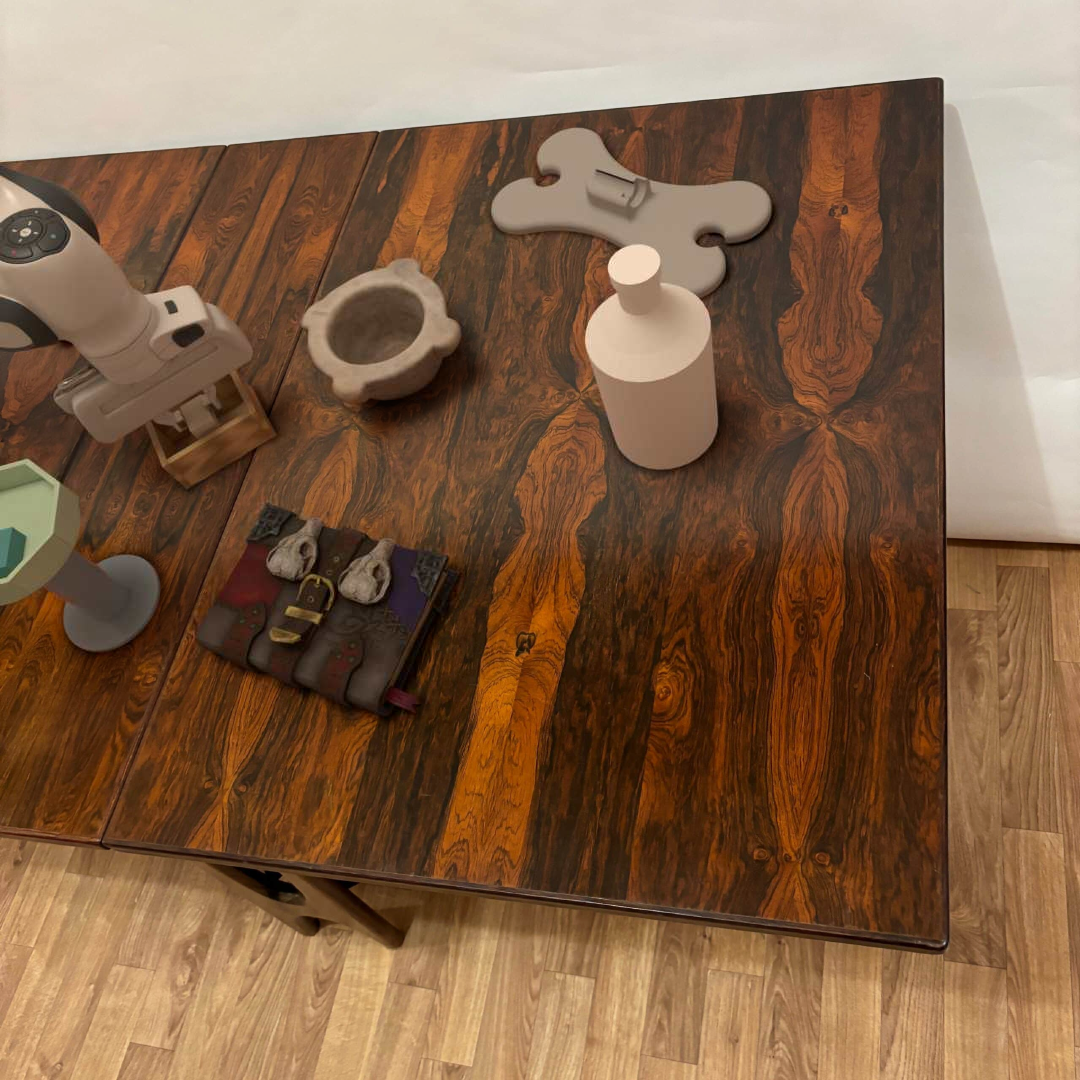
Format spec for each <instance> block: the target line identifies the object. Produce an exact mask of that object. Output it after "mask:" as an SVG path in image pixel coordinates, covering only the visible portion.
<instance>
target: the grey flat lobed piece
mask: <svg viewBox="0 0 1080 1080" xmlns="http://www.w3.org/2000/svg"><path fill="white" fill-rule="evenodd" d="M536 164H537V168H538V170H539V172H540V174H541V175H542V176H543V177H545V176H549V175H557V176H559V179H558V180H557V181H556V182H554V183H553V184H551V185H548V186H540V185H537V181H536V178H535V177H525V178H520V179H516V180H514V181H511V182H510V183H508V184H507V185H505V186H503V188H502V189H500V190H499V191H498V193H497V194H496V195H495V197H494V198H493V200H492V203H491V206H490V213H491V218H492V220H493V223H494V225H495V226H496V227H497V228H498V229H499V230H500V231H501V232H503V233H505V234H508V235H512V236H524V235H530V234H536V233H543V232H572V233H579V234H585V235H588V236H593V237H596V238H599V239H602V240H604V241H606V242H609V243H611V244H613V245H615V246H617V247H618V248H620V249H622V248H624V247H627V246H630V245H637V244H638V245H646V246H649V247H651V248H653V249H655V250H656V251H657V253H658V254H659V257H660V261H661V267H662V275H661V278H660V283H668V284H673V285H677V286H680V287H682V288H685V289H687V290H689V291H690V292H692V293H693V294H695V295H696V296H697V297H698V298H699V299H700V300H701V299H702V298H705V297H707V296H708V295H710V294H711V293H713V292H714V291H716V289H717V288H718V287H720V285H721V283H722V282H723V280H724V278H725V275H726V272H727V263H726V256H725V253H724V252H723V251H722V249H721V248H720V246H718V245H715V246H710V247H704V246H700V245H698V244H697V240H698V239H699V238H700V237H702V236H703V235H705V234H712V233H713V234H719V235H721V236H722V237H723V238H724V243H725V244H737V243H741V242H745V241H748V240H750V239H752V238H754V237H755V236H757V235H759V234H760V233H761V232H762V231H764V230H765V228H766V227H767V225H768V223H769V222H770V220H771V217H772V211H773V210H772V207H773V206H772V200H771V198H770V195H769V194H768V193H767V191H766V190H765V189H764V188H763V187H761V186H760V185H758V184H756V183H754V182H751V181H746V180H732V181H725V182H720V183H714V184H712V183H711V184H701V185H700V184H699V185H685V184H684V185H683V184H682V185H681V184H672V183H665V182H660V181H655V180H652V179H649V178H647V177H645V176H642V175H638V174H636V173H634V172H632V171H630V170H628V169H627V168H625V167H624V166H623V165H621V163H619V162H618V161H617V160H615V158H614V157H613V156H612V155H611V154H610V152H609V151H608V149H607V147H606V146H605V144H604V141H603V139H602V137H601V136H600V135H599V134H598V133H597V132H595V131H593V130H591V129H589V128H585V127H569V128H566V129H563V130H559V131H557V132H555V133H554V134H552V135H551V136H549V137H548V138H547V139H546V140H545V141H543V143H542V144H541V146H540V147H539V150H538V151H537V154H536Z"/></svg>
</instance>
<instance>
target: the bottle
mask: <svg viewBox="0 0 1080 1080" xmlns="http://www.w3.org/2000/svg"><path fill="white" fill-rule="evenodd" d="M607 272H608V276H609V280H610V284H611V286H612V287H613V289H614V290H616V293H614V294H612V295H611V296H609V297H608V298H607V299H606V300H604V301H603V302H602V303H601V304H600V305H599V306H598V307H597V308H596V310H595V311H594V312H593V314H592V315H591V317H590V318H589V320H588V323H587V326H586V329H585V337H584V344H585V348H586V349H585V350H586V353H587V356H588V359H589V362H590V366H591V369H592V372H593V375H594V378H595V382H596V384H597V385H596V386H597V388H598V391H599V394H600V397H601V400H602V404H603V407H604V410H605V413H606V416H607V419H608V423H609V426H610V429H611V432H612V435H613V439H614V442H615V443H616V446H617V448H618V449H619V451H620V452H621V454H622V455H623V456H624V457H625V458H627V459H628V461H630V462H632V463H633V464H636V465H638V466H640V467H644V468H646V469H650V470H651V469H652V470H671V469H675V468H680V467H682V466H685V465H688V464H690V463H691V462H693V461H695V460H697V459H698V458H699V457H701V456H702V455H703V454H704V453H705V452H707V450H708V449H709V448H710V446H711V445H712V444H713V442H714V440H715V437H716V436H717V431H718V427H719V415H718V414H719V413H718V401H717V400H718V399H717V389H716V375H715V364H714V363H715V362H714V350H713V349H714V348H713V338H712V337H713V335H712V325H711V322H712V321H711V317H710V314H709V311H708V309H707V307H706V306H705V304H704V302H703V301H702V300H701V298H700V299H699V298H698V297H697V296H696V295H695V294H693V293H692V292H690V291H689V290H687V289H685V288H682V287H680V286H677V285H673V284H668V283H660V278H661V275H662V267H661V261H660V257H659V254H658V253H657V251H656V250H655V249H653V248H651V247H649V246H646V245H638V244H637V245H630V246H627V247H624V248H622V249H621V248H620V249H619V250H617V251H616V252H615V253H613V255H612V256H611V257H610V259H609V261H608V264H607Z"/></svg>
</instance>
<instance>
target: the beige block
mask: <svg viewBox="0 0 1080 1080" xmlns="http://www.w3.org/2000/svg"><path fill="white" fill-rule="evenodd" d="M201 396H202V395H199V396H197V397H196V398H194V399H192V400H191V401H189V402H187V403H186V404H184V405H182V406H181V407H180V409H181V411H182V414H183V416H184V418H185V421H186V423H187V425H188V427H189V430H190V432H191V433H192V434H193V435H194V436H195V437H196V438H197V439H198V440H200V439H202V438H203V437H205V436H207V435H208V434H210V433H212V432H213V431H215V430H217V429H218V428H220V424H219V422H218V420H217V418H216V416H215V414H214V412H213V413H211V412H210V411H209V410H207V409H206V408H205V407H204V405H203V402H202V400H201V398H200V397H201Z"/></svg>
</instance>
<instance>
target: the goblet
mask: <svg viewBox="0 0 1080 1080" xmlns="http://www.w3.org/2000/svg"><path fill="white" fill-rule="evenodd" d="M81 521H82V515H81V508H80V496H78V495H77V494H76V493H74V492H73V491H72V490H70V489H69V488H68V487H67V486H65V485H64V484H62V483H61V482H60V481H59V480H57V479H56V478H54V477H53V476H52V475H51V474H49V473H48V472H47V471H46V470H44V469H43V468H42V467H40V466H38V465H37V464H36V463H34V462H33V461H32V460H30V459H29V458H25V459H21V460H17V461H15V462H11V463H7V464H4V465H0V530H2V529H6V528H10V527H13V528H15V529H16V530H18V531H19V532H21V533H22V534H24V535H25V536H26V541H25V547H24V554H23V560H22V561H21V563H20V564H19V565H18V566H17V567H16V568H15V569H14V570H13V571H12V572H11V573H10V574H9V575H8V577H6V578H2V579H0V606H5V605H11V604H13V603H16V602H18V601H21V600H23V599H25V598H27V597H29V596H30V595H32V594H34V593H35V592H37V591H39V589H41V588H43V589H45V590H46V591H48V592H50V593H51V594H53V595H55V596H56V597H58V598H60V599H62V600H63V601H65V605H64V608H63V617H62V619H63V628H64V631H65V633H66V636H67V637H68V639H69V640H70V641H71V643H72V644H74V645H75V646H76V647H78V648H80V649H82V650H84V651H87V652H92V653H104V652H109V651H112V650H115V649H117V648H120V647H122V646H123V645H126V644H128V643H129V642H130V641H131V640H133V639H134V638H135V637H137V635H139V634H140V633H141V632H142V631H143V630H144V629H145V627H146V626H147V625H148V623H150V621H151V619H152V617H153V616H154V614H155V612H156V609H157V607H158V605H159V600H160V596H161V580H160V577H159V574H158V572H157V570H156V568H155V567H154V566H153V565H152V564H151V563H150V561H148V560H146V559H144V558H143V557H141V556H139V555H134V554H119V555H114V556H111V557H108V558H105V559H103V560H101V561H99V562H98V563H95V562H94V561H92V560H91V559H89V558H88V557H86V556H85V555H84V554H82V553H80V552H79V551H77V550H76V549H75V546H76V543H77V541H78V537H79V534H80V531H81V523H82V522H81Z"/></svg>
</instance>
